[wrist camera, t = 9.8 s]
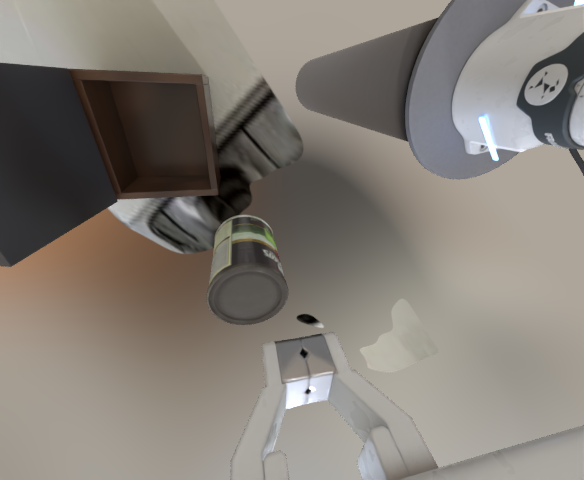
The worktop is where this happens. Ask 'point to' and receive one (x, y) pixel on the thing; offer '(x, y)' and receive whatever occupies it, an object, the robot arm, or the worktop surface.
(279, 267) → the coffee can
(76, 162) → the dark grey box door
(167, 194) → the open brown box
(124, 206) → the worktop surface
